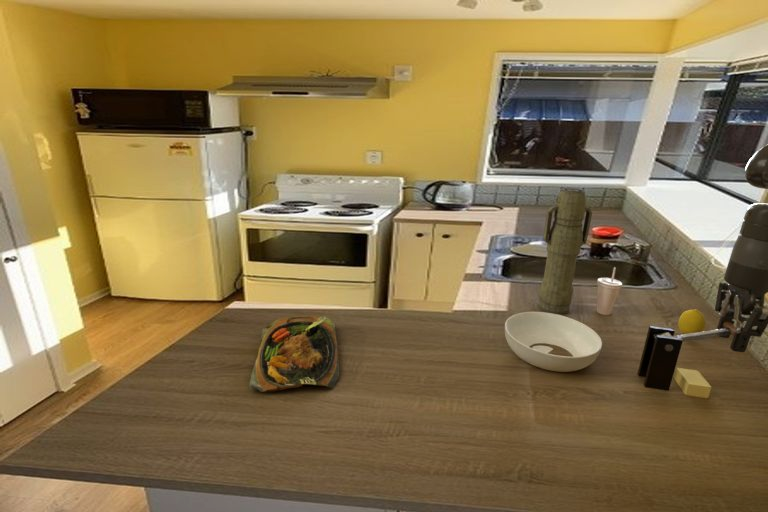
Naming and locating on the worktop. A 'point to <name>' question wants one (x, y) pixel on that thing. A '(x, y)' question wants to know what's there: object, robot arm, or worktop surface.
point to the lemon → (691, 322)
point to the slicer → (659, 358)
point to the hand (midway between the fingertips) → (729, 343)
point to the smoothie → (607, 294)
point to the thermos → (563, 249)
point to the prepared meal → (296, 354)
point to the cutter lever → (704, 333)
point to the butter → (692, 382)
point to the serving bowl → (552, 340)
